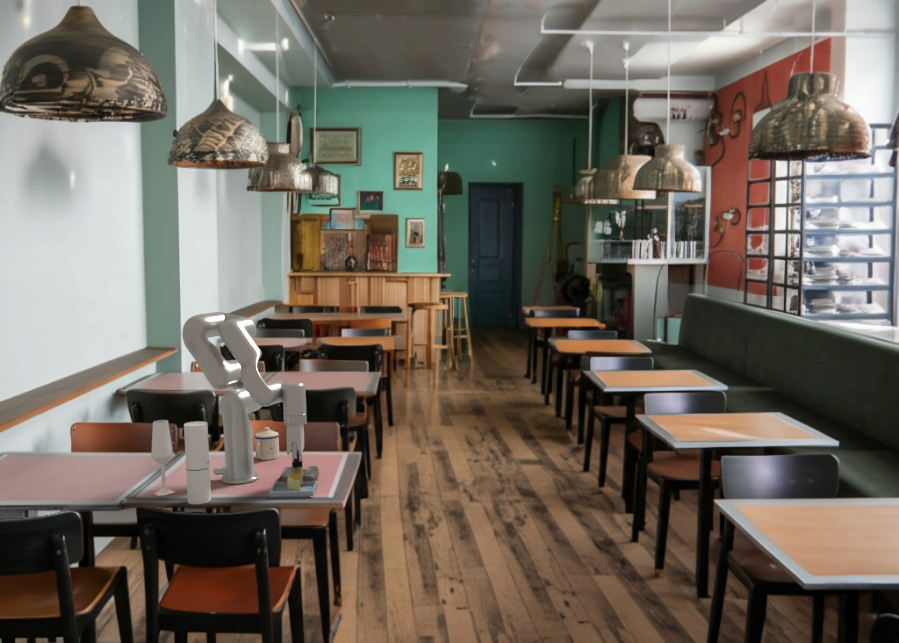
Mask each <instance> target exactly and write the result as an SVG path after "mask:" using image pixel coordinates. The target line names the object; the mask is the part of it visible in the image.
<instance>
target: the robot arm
mask: <svg viewBox="0 0 899 643" xmlns="http://www.w3.org/2000/svg"><path fill="white" fill-rule="evenodd" d="M182 327H183V328H182V333H181V334H182V335H181V336H182V340H183V343H184V346H185V348H186V349H187V351H188V352H189V354H190V355H191V356H192V358H193V359H194V360H195V362H196V363H197V365H198V367H199V369H200V370H201V373H202V374H203V375H204V377H205V378H206V380H207V381H208V383H209V385H210V386H211V387H212V388H213V389H214V390H216V391H223V390H228V389H231V390H228V391H225V392H224V394H222V396H221V398H220V401H219V410H220V414H221V417H222V418H221V419H222V426H223V440H224V441H223V442H224V444H223V445H224V458H225V459H224V462H225V463H224V464H225V466H223V467H221V468H220V467H214V468H213V470H212V471H213V474H214V475H215V476H221V475H222V476H221V482H222V483H224V484H230V485H231V484H232V485H238V484H239V485H240V484H246V483H252V482H254V481H255V482H256V481H257V480H258V479H259V477H260V474H259V473H257V472H255V465H254V464H255V461H254V441H253V426H252V423H251V419H250V417H249V415H248V414H251V413H254V412H256V411H259V410H261V408H262V407H270V406H272V405H276V404H279V403H282V405H283V425H284V426H286V455H287V456H288V455H290V454H291V459H292V460H291V464H292V465H291V467H303V468H304V465H303V458H302V457H303V454H302V453H303V451H304V448H305V430H304V428H305V427H304V426H305V425H306V424H307V423H308V422H307V420H308V419H307V418H308V416H307V397H306V384H305V383H304V382H301V381H286V380H283V379H281V380H280V379H277V380H272V381H269V382H265V380H264V379H263V377H262V376H261V374H260V372H259V370H258V362H259V360H260V359H261V357H262V354H263V352H262V350H261V349H260V347H259V346H258V344H257V343H256V342H255V340H254V338H255V336H256V335H257V326H256V324H255V322H254V321H253V320H251V319H250V318H248V317H245V316H241V315H236V314H231V313H227V312H222V311H218V312H217V311H214V312H207V313H206V312H205V313H201V314H195V315H192V316H191V317H190V318H188V319H187V320H186V321H185V323H184V324H183V326H182ZM214 337H220V339H221V341H222V342H223V343H224V345H225V346H226V347H227V349H228V351H229V352H230V353H231V355H232V356H233V357H234V358H235V359H230V360H227V359H225V357H224V356H223V355H222V353H221V351H220V350H219V348H218V347H217V346H216V345H215V344H214V343H212V342H211V341H210V339H209V338H214Z"/></svg>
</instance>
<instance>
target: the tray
mask: <svg viewBox="0 0 899 643" xmlns="http://www.w3.org/2000/svg"><path fill="white" fill-rule="evenodd" d="M316 488H318V480H317V481H303V484H301V491H288V483H287V482H278V481H275V482H274V483H273V485H272V487H271V488H270V490H269V491H268V499H269V498H270V499H294V498H295V499H298V498H299V497H304V498H311V497H310V496H313V495H314V496H315V494H314V493H316V491H317V489H316ZM315 490H316V491H315ZM314 496H313V497H314Z"/></svg>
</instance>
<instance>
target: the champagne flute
mask: <svg viewBox="0 0 899 643" xmlns="http://www.w3.org/2000/svg"><path fill="white" fill-rule="evenodd" d="M151 434H152V437H151V438H152V439H151V458H152V459H153V460H154V461H155V462H156V463H157V464H158V465H160V470H161V471H160V472H161V473H160V474H161V488H159V489H158V490H157V491H159V492H166V491H169V490H170V488H168V487H167V484H166V467H165V465H166V464H167V463H168V462H169V461H170V460H171V459H172V457H173V455H174V450H173V445H172V438H171V432H170V425H169V420H167V419H159V420H154V421H153V422H152V433H151Z"/></svg>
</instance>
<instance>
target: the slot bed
mask: <svg viewBox="0 0 899 643" xmlns="http://www.w3.org/2000/svg"><path fill="white" fill-rule="evenodd" d="M291 467H292V466H285V467H284V469H283V471H282V472H281V474H280V476H279V477H278V480H277V482H287V480H288V477H289V476H290V469H291ZM303 475H304V479H303V481H316V480H317V481H318V479H319V477H320V468H318V465H309V466H307V468H303ZM318 476H319V477H318ZM317 478H318V479H317Z"/></svg>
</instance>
